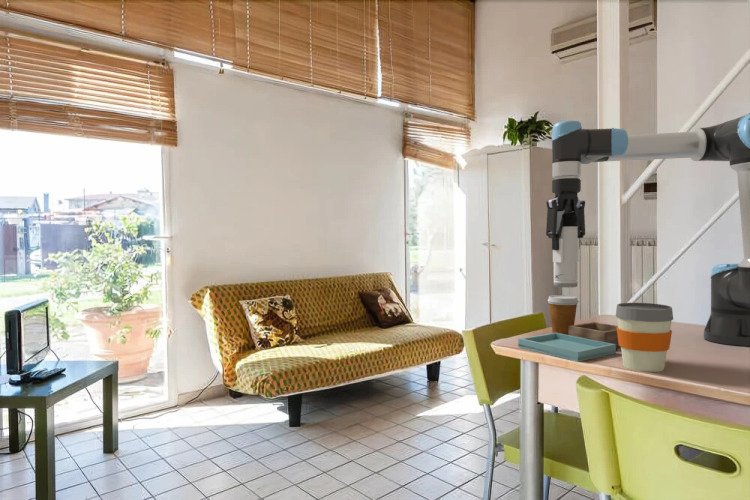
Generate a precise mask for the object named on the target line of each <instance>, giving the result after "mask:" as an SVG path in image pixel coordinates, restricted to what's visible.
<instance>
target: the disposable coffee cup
mask: <svg viewBox="0 0 750 500" xmlns="http://www.w3.org/2000/svg"><path fill="white" fill-rule="evenodd" d="M547 303H548V306H549V314H550V322H551V330H552V332H551V333H560V334H565V335H569V326H572V325H575V321H576V317H577V316H576V313H577V307H578V303H579V300H578V297H577V296H574V295H568V294H567V295H564V294H563V295H562V294H560V295H559V294H556V295H555V294H554V295H549V296H548V299H547Z"/></svg>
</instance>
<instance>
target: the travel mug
mask: <svg viewBox="0 0 750 500" xmlns="http://www.w3.org/2000/svg"><path fill="white" fill-rule="evenodd" d="M577 228H578V227H577V216H574V215H571V214H565V215H564V216H563V228H562V232H561V237H560V238H559V239H563V262H553V286H554V287H555V288H577V287H578V261H577V247H578V229H577ZM556 233H557V232H556Z"/></svg>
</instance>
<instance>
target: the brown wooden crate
mask: <svg viewBox="0 0 750 500" xmlns="http://www.w3.org/2000/svg"><path fill="white" fill-rule="evenodd" d="M617 327H618V325H615V324H608V323H603V322H596V321H592V322H591V321H590V322H585V323H579V324H574V325H572V326H569V335H571V336H576V337H581V338H586V339H591V340H596V341H601V342H606V343H611V344H616V349H617V348H621V346H619V342H618V335H617Z"/></svg>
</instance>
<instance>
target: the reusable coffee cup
mask: <svg viewBox="0 0 750 500" xmlns="http://www.w3.org/2000/svg"><path fill="white" fill-rule="evenodd" d="M615 309H616V310H615V317H616V320H617V326H618V327H617V335H618V342H619V346H621V347H620V350H621V357H622V359H621V360H622V366H623V367H624V368H627V369H629V370H633V371H639V372H646V373H657V372H662V371H664V370H665V366H666V359H667V354H668V351H669V350H670V345H671V339H672V335H673V334H672V333H673V331H672V330H671V326H672V321H674V314H673V307H672V306H670V305H666V304H660V303H659V304H658V303H652V302H651V303H650V302H649V303H647V302H622V303H617V304H616V308H615Z"/></svg>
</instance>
